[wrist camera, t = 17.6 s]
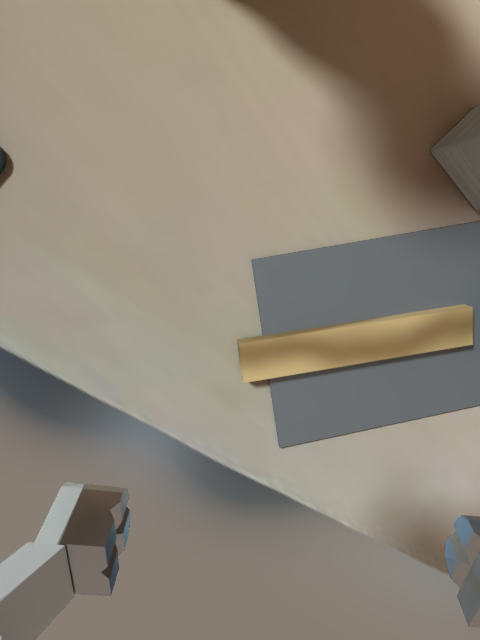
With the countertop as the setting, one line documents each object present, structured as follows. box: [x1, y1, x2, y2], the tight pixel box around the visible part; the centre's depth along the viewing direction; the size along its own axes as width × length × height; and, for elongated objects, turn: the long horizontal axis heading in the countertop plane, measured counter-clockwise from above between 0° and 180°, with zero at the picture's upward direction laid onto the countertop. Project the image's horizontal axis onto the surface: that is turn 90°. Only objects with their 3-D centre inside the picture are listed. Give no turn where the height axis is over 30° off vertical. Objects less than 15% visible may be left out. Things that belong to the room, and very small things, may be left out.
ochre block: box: [237, 304, 473, 383], centre depth 45 cm, size 4×24×2 cm, turn 97°
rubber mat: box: [252, 221, 480, 448], centre depth 47 cm, size 20×24×1 cm
